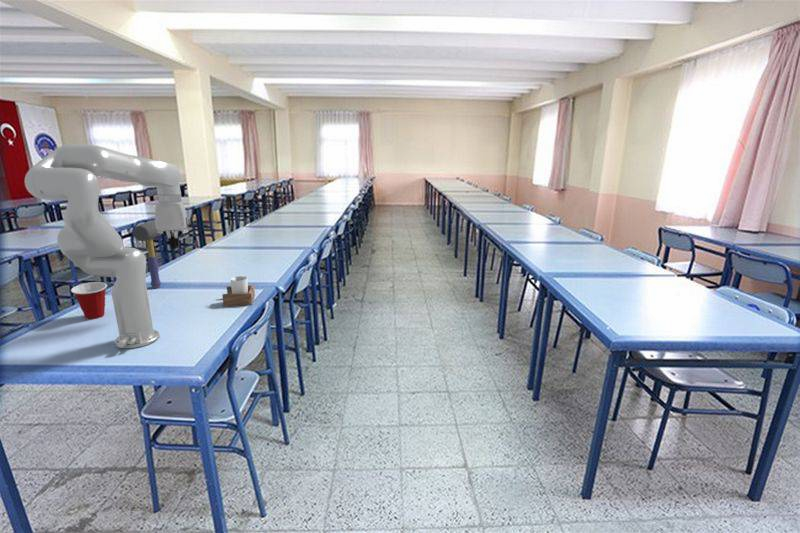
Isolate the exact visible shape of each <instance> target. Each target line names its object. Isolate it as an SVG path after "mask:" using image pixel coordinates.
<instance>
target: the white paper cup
mask: <svg viewBox="0 0 800 533" xmlns="http://www.w3.org/2000/svg"><path fill="white" fill-rule="evenodd" d="M248 279H249V278H248V277H247V276H245V275H237V276H232V277H231V278H230V286H231V287H232V294H233V293H248V285H249V284H248V283H249V282H248Z"/></svg>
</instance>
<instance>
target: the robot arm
mask: <svg viewBox="0 0 800 533" xmlns="http://www.w3.org/2000/svg"><path fill="white" fill-rule="evenodd" d="M98 177H101V178H104V179H110V180H116V181H119V182H125V183H127V182H128V183H137V184H139V185H141V186H143V187H144V186H145V187H156V195H153V200H154V201H157V203H155V209H154V210H155V212H154V215H155V216H154V219H155V220H154V222H155V224H156V229H157V232H158V233H161V234H160V235H162V234H163V235H165V237H166V238H167V239H168V242H169V247H171V250H173V249H174V250H177V249H178V248H179V247H180V245H181V244H180V237H181V236H182V235H183V234H187V233H189V231H190V230H189V221H188V215H187V210H186V207H185V204H184V202H182V196H181V194H182V193H181V185H180V183H181V180H182V175H181V172H180V170H179V168H178V167H177V166H176V165H175V164H172V163H170V162H166V161H162V160H159V159H151V158H149V157H148V158H147V157H142V156H137V155H131V154H127V153H124V152H120V151H117V150H114V149H111V148H108V147H107V148H106V147H103V146H100V145H95V144H64V145H61V146H58V147H57V148H55V149H54V150H52V151H51V152H49V153H48V154H46V156H44V157H43V158H42V159H41V160H40V161H38V162H36V164H34V165H33V166H32V167H31V168H29V169H28V171H27V172H26V174H25V177H24V186H25V188H26V190H27V192H28V193H29V194H30V195H32V196H33V197H35V198H37V199H42V200H44V201H45V200H47V201H67V204H66V209H65V212H64V215H63V223H64V225H65V226H63V227H62V228H61V229H60V230H59V232H58V234H57V237H56V238H57V239H56V240H57V245H58V248H59V250H60V252H61V253H62V254H63V255H64V256H65V257H66V258H68V260H70V261H71V262H72V263H73V264H74V265H75V266H77V267H78V268H79V269H80V270H81V271H83V273H86V274H87V275H89V276H92V277H100V278H101V277H103V278H116V280H115V282H114V284H113V286H112V288H111V297H112V302H113V307H114V313H115V314H114V315H115V318H116V319H115V320H116V324H117V325H116V326H117V329H118V335H119V336H118V337H116V338H115V340H114V345H115V347H117V348H120V349H135V348H141V347H145V346H148V345H150V344H152V343H154V342H156V341H158V339H159V338H160V336H161V335H160V332H159V331H158V330H156V329H154V326H153V321H152V319H153V318H152V314H151V307H150V300H149V294H148V289H147V280H146V279H147V278H146V277H147V275H146V271H147V257H146V256H145V253H144V252H143V251H141V250H140V249H138V248H134V247H130V246H124V241H123V238H122V237H121V235H120V234H119V233H118V232H117V230H116V229H115V228H114V227H113V226H112V225H111V224H110V223H109V221H108V220H107V219H105V218H104V216H103V214H101V212H100V210H99V209H100V208H99V198H100V190H101V187H100V182H99V179H98ZM173 232H174V234H173Z"/></svg>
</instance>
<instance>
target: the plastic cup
mask: <svg viewBox="0 0 800 533" xmlns="http://www.w3.org/2000/svg"><path fill="white" fill-rule="evenodd" d="M107 287H108V284H107V283H106V282H102V281H101V282H100V281H94V282H93V281H91V282H85V283H81V284H78V285H76V286H74V287H72V288H71V289H70V291H71V293H73V295H74V296H75V298H76V300H77V303H78V305H79V306H80V309H81V311H82V313H83V315H84V317H85V319H86V320H96V319H100V318H102V317H104V316H105V309H106V308H105V307H106V292H107V291H106V290H107Z"/></svg>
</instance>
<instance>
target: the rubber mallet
mask: <svg viewBox="0 0 800 533" xmlns="http://www.w3.org/2000/svg"><path fill="white" fill-rule="evenodd" d="M132 235H133V237H134V239H136V240H137V241H138V242H139V241H140V242H146V246H147V248H146V249H147V256H148V257H147V266H148V269H149V274H150V286H151V287H152V288H153V289H158V288H160V287H161V285H162V281H161V280H160V274H159V263H158V259H157V256H156V253H155V252H156V251H155V246H154V240H153V239H155V238H157V237H160V236H161V235H162V234H161V233H158V232H157V229H156V224H155V220H154V221H153V220H152V221H148V222H144V223H140V224H139V225H136V226H134V228H133V230H132Z"/></svg>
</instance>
